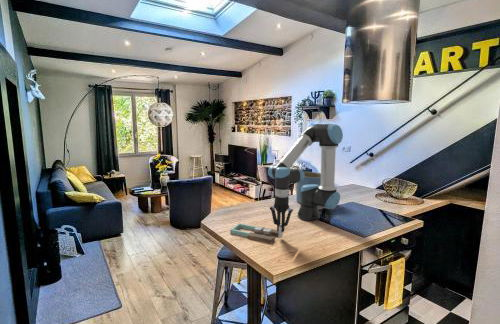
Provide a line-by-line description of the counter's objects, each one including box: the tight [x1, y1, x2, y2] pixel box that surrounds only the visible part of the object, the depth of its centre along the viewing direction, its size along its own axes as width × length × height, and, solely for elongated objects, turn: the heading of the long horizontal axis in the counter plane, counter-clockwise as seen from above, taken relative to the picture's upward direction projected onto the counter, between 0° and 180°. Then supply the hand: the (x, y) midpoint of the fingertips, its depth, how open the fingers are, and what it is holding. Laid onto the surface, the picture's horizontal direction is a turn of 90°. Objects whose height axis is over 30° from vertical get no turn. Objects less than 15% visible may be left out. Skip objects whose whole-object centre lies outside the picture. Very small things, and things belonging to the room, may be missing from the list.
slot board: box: [247, 226, 279, 244], centre depth 154 cm, size 14×14×3 cm
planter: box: [295, 171, 321, 204], centre depth 222 cm, size 23×23×24 cm
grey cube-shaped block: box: [253, 226, 263, 235], centre depth 155 cm, size 4×4×4 cm
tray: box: [229, 222, 257, 238], centre depth 160 cm, size 11×12×3 cm
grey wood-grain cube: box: [263, 227, 273, 236], centre depth 153 cm, size 4×4×4 cm
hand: (280, 236), depth 150 cm, fingers closed
